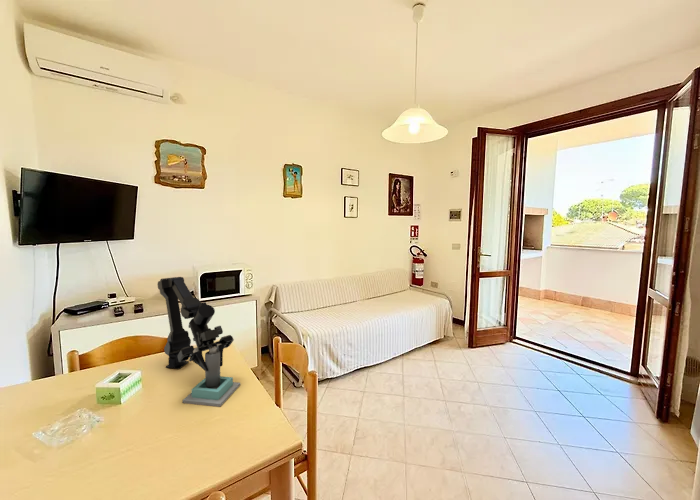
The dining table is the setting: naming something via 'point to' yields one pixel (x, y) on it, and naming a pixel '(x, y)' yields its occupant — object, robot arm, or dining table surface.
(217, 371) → the plug
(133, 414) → the dining table surface
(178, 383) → the dining table surface
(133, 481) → the dining table surface
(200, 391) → the socket
